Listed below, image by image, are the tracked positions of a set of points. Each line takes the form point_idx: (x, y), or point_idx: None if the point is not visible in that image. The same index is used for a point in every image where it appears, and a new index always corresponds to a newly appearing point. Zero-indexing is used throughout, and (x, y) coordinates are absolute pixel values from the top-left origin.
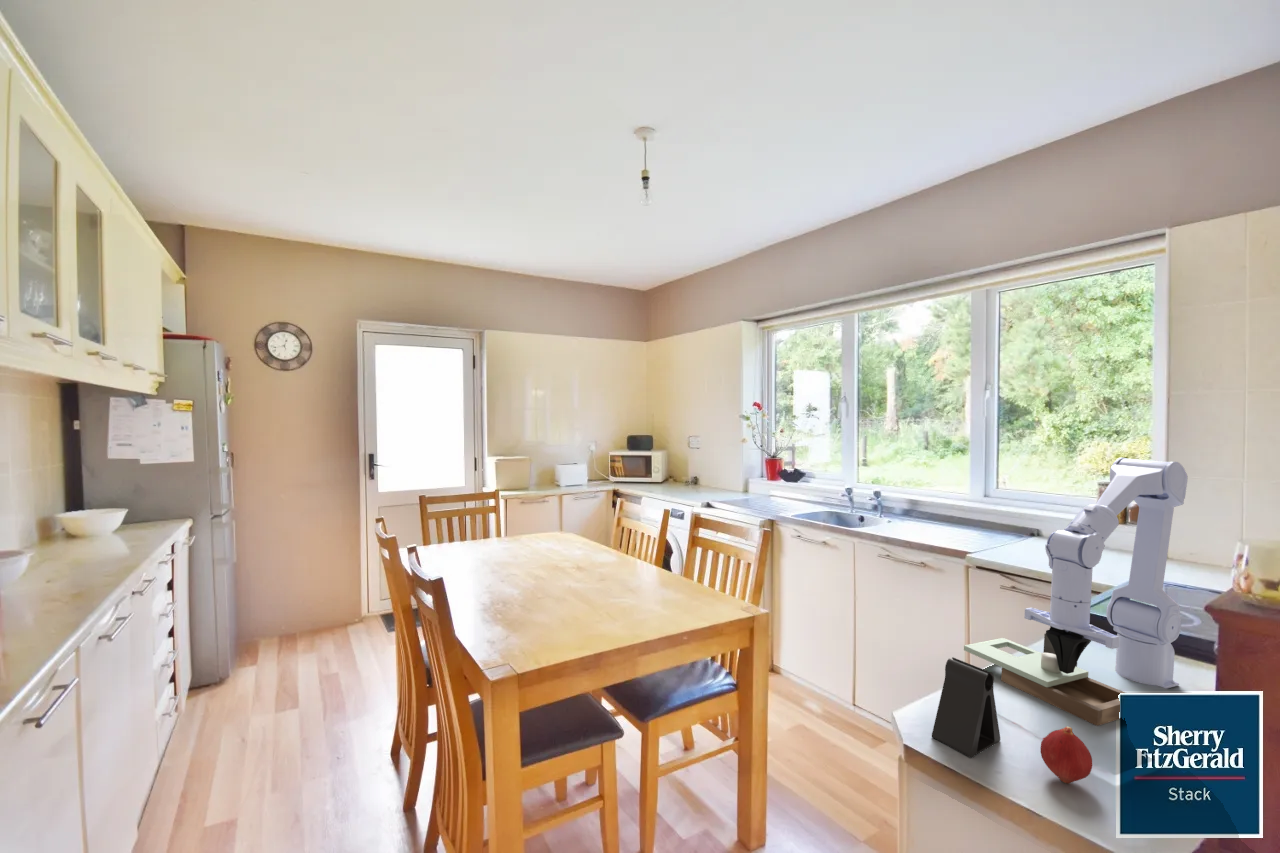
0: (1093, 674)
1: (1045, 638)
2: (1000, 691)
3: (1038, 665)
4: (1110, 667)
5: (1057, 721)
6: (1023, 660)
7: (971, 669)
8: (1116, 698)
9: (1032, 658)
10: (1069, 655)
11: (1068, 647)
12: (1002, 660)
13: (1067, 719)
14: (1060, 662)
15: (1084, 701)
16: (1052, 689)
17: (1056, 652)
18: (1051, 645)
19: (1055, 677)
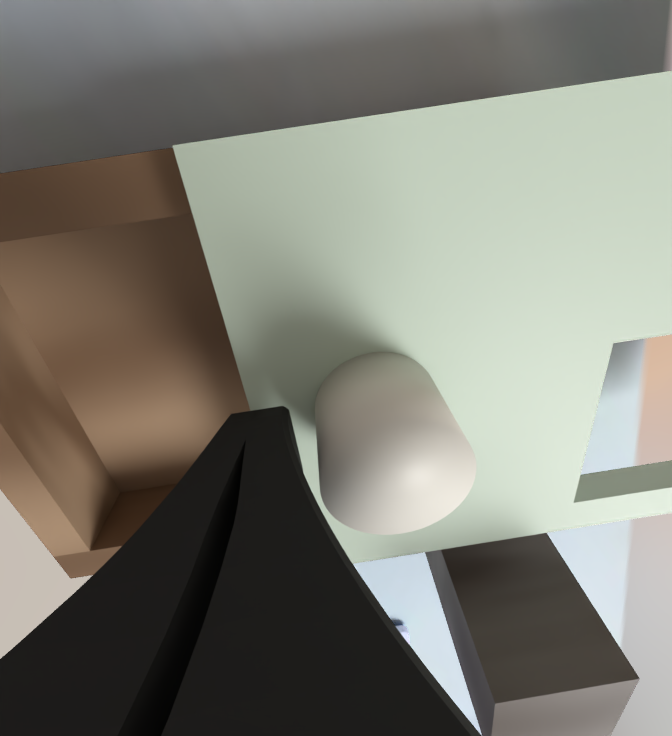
0: (420, 601)
1: (608, 643)
2: (466, 2)
3: (450, 375)
4: (433, 660)
5: (33, 27)
6: (552, 338)
7: None
8: (148, 513)
9: (537, 427)
10: (111, 557)
11: (16, 690)
12: (659, 125)
13: (72, 144)
14: (257, 446)
15: (203, 390)
16: (159, 172)
17: (292, 509)
18: (551, 616)
19: (254, 321)
